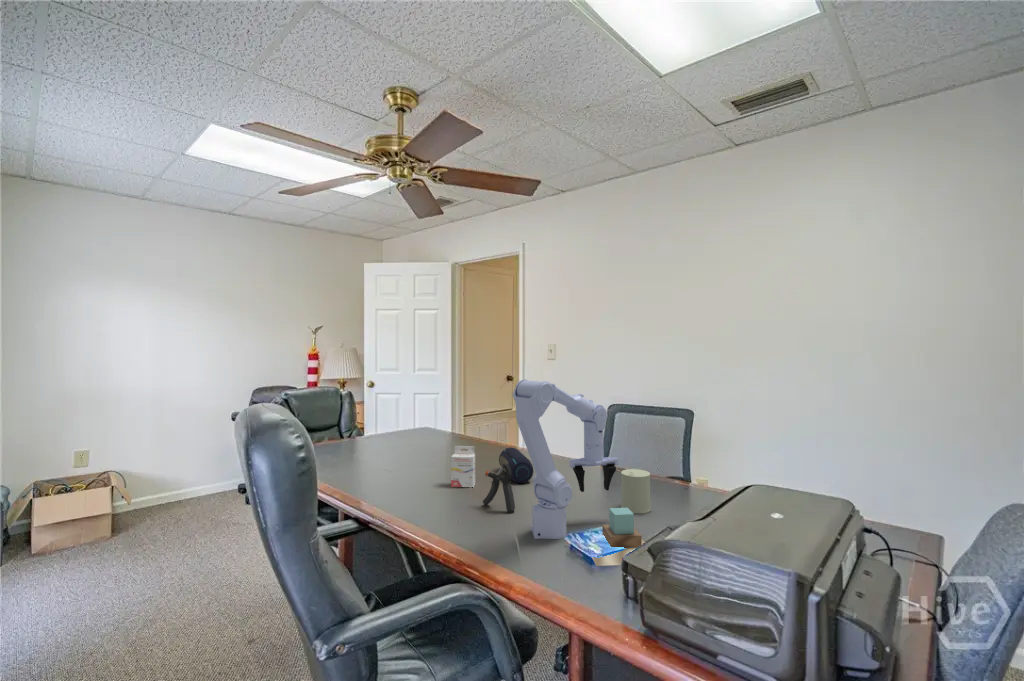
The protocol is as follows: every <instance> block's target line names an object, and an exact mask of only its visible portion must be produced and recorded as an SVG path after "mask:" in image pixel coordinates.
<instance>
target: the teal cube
mask: <svg viewBox="0 0 1024 681" xmlns="http://www.w3.org/2000/svg"><path fill="white" fill-rule="evenodd" d="M608 510H609V511H608V512H609V513H608V514H609V515H608V518H609V521H608V522H609V524H608V525H609V527H610V528H611V530H612V531H613V532H614V534H634V527H635V513H632V512H631V511H630V510H629V509H628V508H621V507H612V508H611V507H610V508H609V509H608Z"/></svg>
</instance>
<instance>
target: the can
mask: <svg viewBox="0 0 1024 681" xmlns="http://www.w3.org/2000/svg"><path fill="white" fill-rule="evenodd" d="M620 477H621V478H620V479H621V507H620V508H628V509H629V510H630V511H631V512H632V513H633V514H636V515H637V514H638V515H639V514H640V515H641V514H648V513H649V512H651V510H652V508H651V473H650V472H649V471H647V470H644V469H636V468H627V469H623V470H622V471H621V472H620Z"/></svg>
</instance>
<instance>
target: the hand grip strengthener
mask: <svg viewBox="0 0 1024 681" xmlns="http://www.w3.org/2000/svg"><path fill="white" fill-rule="evenodd" d="M504 468H505V470H506V472H505V475H504V476H503V475H501V474H502V472H503V471H504ZM511 475H512V472H511V468H510V466H509V465H508V464H506V463H505V464H502V467H501V466H500V468H499V469H498V471H497V473H493V472H492V471H489V470H487V471H485V476H486V477H489V478H491V479H492V481H491V485H490V486H491V487H490V489H489V491H488V494H487V495H486V497H485V498H484V499H483V500H482V503H483V504H484V506H488V505H489V504H490V503H491V502H492V501H493V500H494V498H495V496H496V495H497V492H498V490H499V487H500V482H501V483H502V489H503V495H504V502H505V507H506V508H505V509H506V511H507V513H508V514H513V513H515V509H516V506H515V505H516V504H515V499H514V493H513V488H512V484H511V483H510V480H511V478H510V477H511Z"/></svg>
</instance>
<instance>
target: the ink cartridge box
mask: <svg viewBox="0 0 1024 681" xmlns="http://www.w3.org/2000/svg"><path fill="white" fill-rule="evenodd" d="M464 449H465V450H464ZM475 449H476V448H475V446H474V445H471V446H470V445H454V446H453V454H452V455H451V456H450V488H451V487H473V488H474V487H475V485H476V453H475V452H476V450H475Z"/></svg>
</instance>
